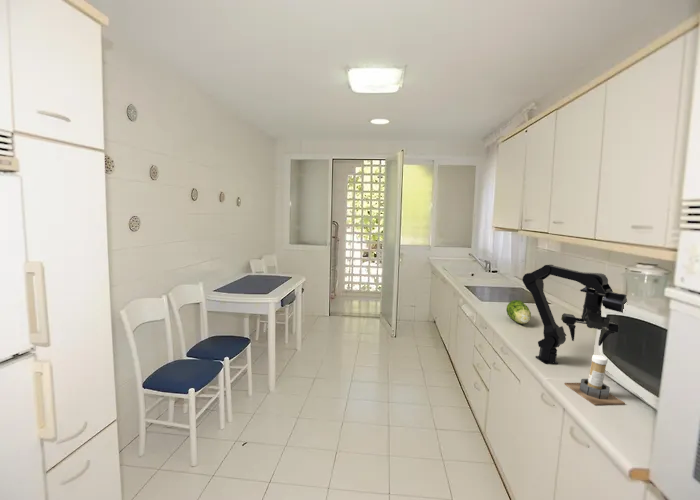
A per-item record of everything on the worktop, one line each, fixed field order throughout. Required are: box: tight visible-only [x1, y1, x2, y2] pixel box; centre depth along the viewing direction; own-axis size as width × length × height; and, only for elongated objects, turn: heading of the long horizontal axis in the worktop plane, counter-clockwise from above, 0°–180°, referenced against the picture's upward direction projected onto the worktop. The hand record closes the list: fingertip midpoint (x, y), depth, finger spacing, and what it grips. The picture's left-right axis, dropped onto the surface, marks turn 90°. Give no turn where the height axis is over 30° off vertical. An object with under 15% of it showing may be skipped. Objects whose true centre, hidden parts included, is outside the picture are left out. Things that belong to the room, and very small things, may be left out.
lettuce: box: [506, 299, 532, 324], centre depth 210 cm, size 12×21×11 cm, turn 171°
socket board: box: [564, 382, 626, 406], centre depth 133 cm, size 14×12×1 cm
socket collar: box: [579, 378, 611, 399], centre depth 133 cm, size 9×9×3 cm
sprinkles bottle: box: [587, 354, 608, 390], centre depth 132 cm, size 5×5×14 cm
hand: (585, 343), depth 147 cm, fingers open, 9 cm apart
